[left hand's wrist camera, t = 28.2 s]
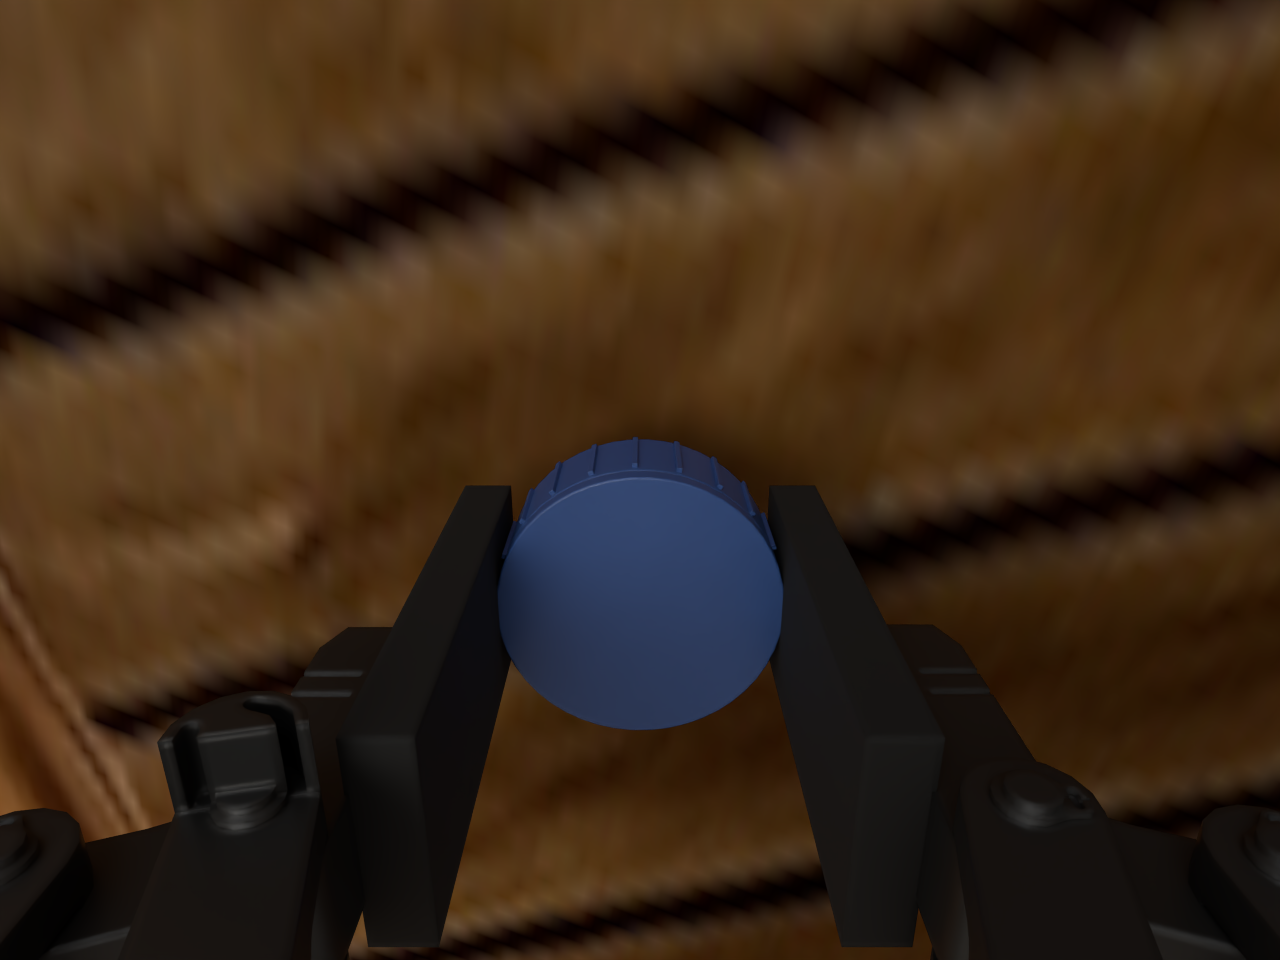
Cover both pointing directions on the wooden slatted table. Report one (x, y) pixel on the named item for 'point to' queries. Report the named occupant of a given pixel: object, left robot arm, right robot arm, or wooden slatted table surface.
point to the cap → (640, 586)
